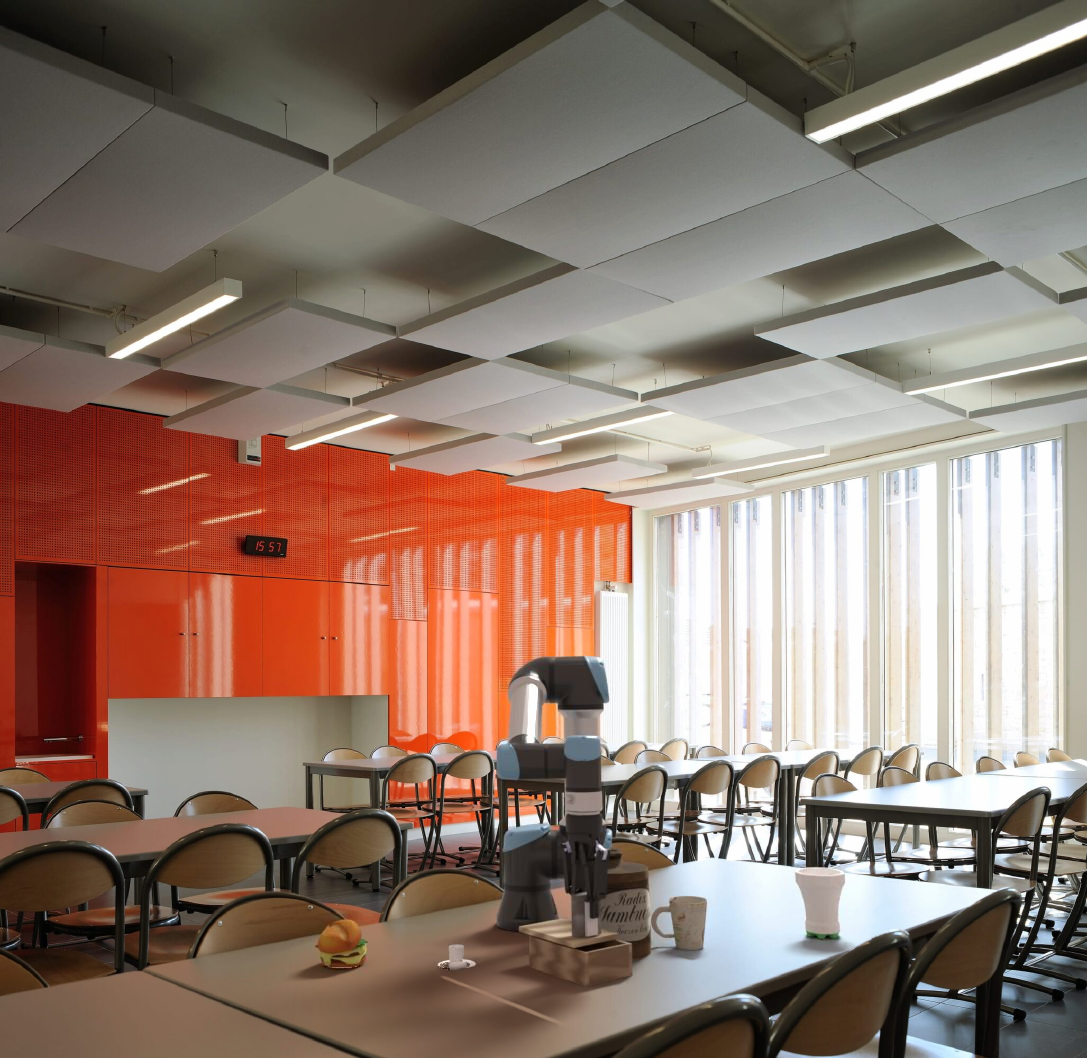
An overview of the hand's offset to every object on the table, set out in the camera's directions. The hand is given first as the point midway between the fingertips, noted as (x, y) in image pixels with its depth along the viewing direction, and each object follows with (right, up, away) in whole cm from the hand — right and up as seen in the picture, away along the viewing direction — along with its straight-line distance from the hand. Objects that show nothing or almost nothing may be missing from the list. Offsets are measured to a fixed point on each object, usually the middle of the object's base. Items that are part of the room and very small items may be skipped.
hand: (586, 933), depth 203 cm
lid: (-4, -2, +4) cm, 6 cm away
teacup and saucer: (-29, -10, +7) cm, 32 cm away
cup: (+56, -12, +30) cm, 64 cm away
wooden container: (+7, -11, +15) cm, 20 cm away
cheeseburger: (-50, -11, +9) cm, 52 cm away
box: (-1, -8, 0) cm, 8 cm away
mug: (+22, -12, +21) cm, 33 cm away
